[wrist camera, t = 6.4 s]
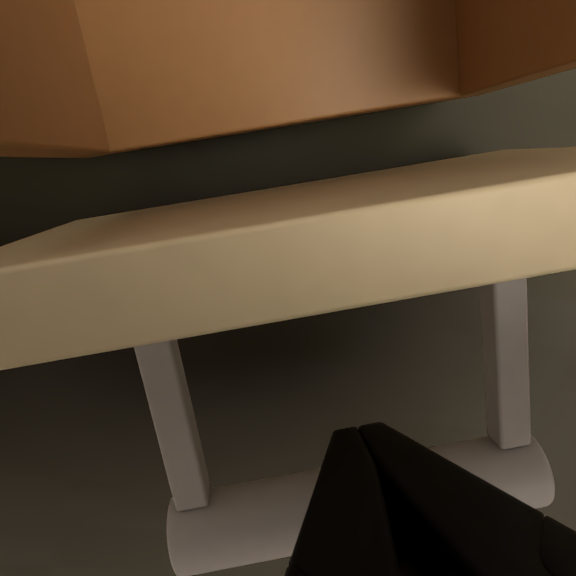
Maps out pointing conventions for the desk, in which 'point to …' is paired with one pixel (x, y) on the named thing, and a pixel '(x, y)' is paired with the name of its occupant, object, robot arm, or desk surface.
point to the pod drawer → (280, 211)
